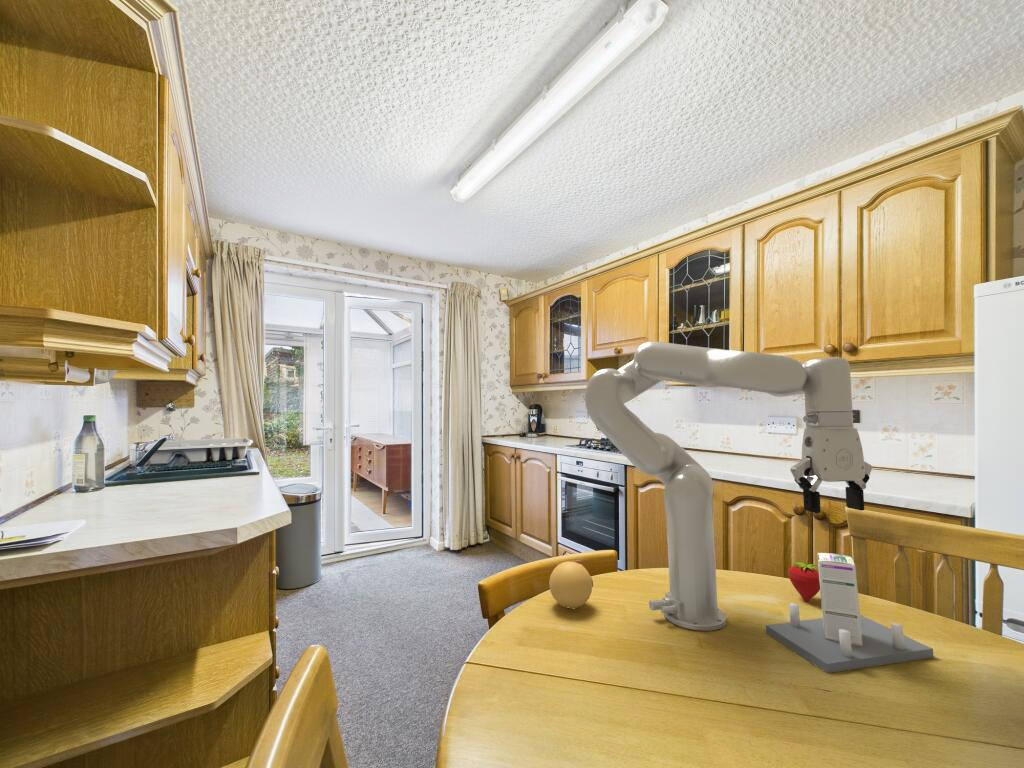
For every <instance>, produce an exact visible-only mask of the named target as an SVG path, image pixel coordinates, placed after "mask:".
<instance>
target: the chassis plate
mask: <svg viewBox="0 0 1024 768" xmlns="http://www.w3.org/2000/svg"><path fill="white" fill-rule="evenodd" d="M789 619H790V621H788V622H780V623H772V624H771V623H770V624H765V633H766V634H767V635H769V637H772V638H773V639H775V640H776V641H778V642H779V643H781V644H782V645H784V646H785V647H787V648H789V649H790V650H792V651H793V652H795V653H796V654H798V655H799V656H801V657H802V658H804V659H805V660H807V661H808V662H810V663H811V664H813V665H814V666H816V667H817V668H819V669H820V670H822V671H824V672H825V673H827V674H830V673H835V672H837V673H838V672H842V671H849V670H856V669H857V670H858V669H864V668H871V667H876V666H883V665H891V664H898V663H905V662H911V661H912V662H913V661H918V660H926V659H932V658H934V648H932V647H930V646H928V645H926V644H925V643H922V642H919V641H918V640H916V639H913V638H910V637H908V636H907V635H905V634H904V627H903V625H902V624H901V623H898V622H891V623H890V628H889V627H888V626H885V625H883V624H881V623H879V622H877V621H875V620H872V619H870V618H868V617H866V616H864V615H862V614H860V619H861V631H862V646H859V645H853V644H851V635H850V632H849V631H847V630H844V629H840V630H839V638H840V642H838V641H834V640H830V639H826V638H825V633H824V627H823V617H820V618H815V619H813V618H812V619H806V620H805V619H804V620H801V615H800V606H799V604H797V603H794V602H791V603H789Z"/></svg>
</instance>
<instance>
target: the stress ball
mask: <svg viewBox="0 0 1024 768" xmlns="http://www.w3.org/2000/svg"><path fill="white" fill-rule="evenodd" d="M548 582H549V584H548V585H549V591H550V594H551V596H552V597H553V599H554V601H555V602H556V603H558V604H559V605H560V606H562V607H563V608H566V607H569V608H576V607H577V608H580V607H581V606H583V605H584V604H586V603H587V602H588V601H589V599H590V597H591V595H592V591H593V587H594V579H593V576H591V575H590V573H589V571H588V570H587V568H586V567H585V566H584V565H583V564H581V563H578V562H576V561H573V560H566V561H564V562H561V563H558V565H557V566H556V567H554V569H553V571H552V572H551V574H550V576H549V581H548ZM577 608H576V609H577Z"/></svg>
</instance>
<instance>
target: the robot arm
mask: <svg viewBox="0 0 1024 768" xmlns="http://www.w3.org/2000/svg"><path fill="white" fill-rule="evenodd" d="M850 365H851V364H850V362H849V361H848V360H847V359H846V358H843V357H837V356H836V357H831V356H830V357H817V358H812V359H809V360H806V361H798V360H797V359H796V358H794V357H793V358H792V357H789V356H785V355H778V354H772V353H770V354H769V353H761V352H753V351H744V350H743V351H742V350H741V351H740V350H733V349H732V350H730V349H723V348H715V347H714V348H712V347H704V346H697V345H695V346H694V345H687V344H678V343H674V342H673V343H672V342H662V341H653V340H651V341H646V342H644V343H642V344H640V345H639V346H638V347H637V348H636V350H635V352H634V354H633V360H631V361H629V362H628V363H626V364H625V365H623V366H621V367H620V368H618V369H615V368H610V367H609V368H602V369H599V370H597V371H596V372H595V373H593V374H592V375H591V377H590V378H589V380H588V382H587V385H586V388H585V393H584V402H585V407H586V411H587V413H588V415H589V417H590V419H591V421H592V422H593V424H594V425H595V426H596V428H597V429H598V430H599V431H600V432H601V433H602V434H603V435H604V436H605V437H606V438H607V439H608V440H609V441H610V442H611V443H612V444H613V445H614V447H615V448H617V449H618V451H620V453H622V455H624V457H626V459H627V460H628V461H629V462H630V463H631V465H632V466H634V467H635V468H636V469H637V471H639V472H640V473H642V474H643V475H646V476H649V477H656V478H657V479H658V480H659V481H660V482H661V483H662V484H663V485H664V490H663V504H664V512H665V519H666V521H665V523H666V539H667V540H666V541H667V557H668V558H667V559H668V577H669V578H668V579H669V582H668V583H669V592H665V595H664V596H665V597H662V599H653V600H652V599H651V600H649V602H648V607H649V609H650V610H651V611H660V612H661V613H662V614H663V616H664V617H665V619H666V618H667V619H666V620H667V621H669V622H670V623H671V624H673V625H676V626H679V627H681V628H684V629H687V630H693V631H703V632H707V631H710V632H711V631H716V630H720V629H723V628H724V627H725V626H726V624H727V615H726V613H725V612H724V611H723V610H722V609H720V608H719V607H718V590H717V589H718V587H717V571H716V569H717V568H716V567H717V566H716V548H715V547H716V546H715V534H714V531H715V530H714V518H713V494H714V481H713V479H712V477H711V474H709V472H708V471H707V470H706V469H705V468H704V467H703V466H702V465H701V464H700V463H698V461H696V460H695V459H694V457H692V456H691V455H690V454H689V453H688V452H687V451H686V450H685V449H683V448H682V447H681V446H680V444H678V443H677V442H676V441H675V440H673V439H672V438H671V437H670V436H668V435H667V434H664V433H660V432H654V430H652V429H651V428H650V427H648V426H647V425H646V424H645V423H644V422H643V421H642V420H641V419H640V418H639V417H638V416H637V415H636V414H635V413H634V412H632V411H631V410H630V409H629V408H628V407H627V405H625V403H628V402H630V401H632V400H634V399H635V398H636V397H638V396H640V395H642V394H643V393H645V392H646V391H648V390H650V389H651V388H653V387H654V386H656V385H658V384H660V383H661V382H662V381H669V382H675V383H681V384H687V385H692V386H699V387H707V388H718V387H719V388H721V387H723V388H730V389H731V388H733V389H739V390H741V389H742V390H745V391H746V390H747V391H753V392H760V393H766V394H768V395H771V396H773V397H778V398H779V397H780V398H782V397H789V396H796V395H804V409H805V410H804V411H805V412H804V413H805V415H804V416H802V417H803V418H802V419H803V423H805V426H806V428H804V429H803V437H802V444H801V460H800V461H798V462H797V463H795V464H794V465H793V466H791V467H790V469H789V470H790V472H791V475H792V476H793V478H794V481H795V483H796V484H797V485H798V487H799V489H800V490H802V495H803V496H802V497H803V498H802V499H803V509H804V511H806V512H810V513H814V514H820V513H821V511H822V509H821V493H820V491H817V490H818V488H819V487H820V485H821V484H822V483H823V482H826V483H837V482H845V483H846V485H847V486H845V505H846V507H847V508H848V509H853V510H857V511H865V499H864V496H865V495H864V490H865V489H866V488H867V485H866V484H867V483H868V482H869V480H870V475H871V472H872V469H873V465H872V464H870V463H868V462H867V461H865V457H864V451H863V445H862V442H861V438H860V434H859V432H858V428H856V427H854V412H853V397H852V395H853V393H852V381H851V380H852V379H851V366H850Z"/></svg>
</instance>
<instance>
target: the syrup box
mask: <svg viewBox="0 0 1024 768" xmlns="http://www.w3.org/2000/svg"><path fill="white" fill-rule="evenodd" d="M817 565H818V566H817V569H819V570H818V572H819V581H820V591H819V593H820V602H821V615H822V617H821V618H823V627H824V633H825V638H826V639H830V640H834V641H838V642H840V638H839V630H840V629H844V630H847V631H849V632H850V635H851V644H853V645H859V646H862V631H861V619H860V615H861V610H860V599H859V591H858V580H857V569H856V565H855V562H854V560H853V557H852V556H850V555H847V554H841V553H840V554H838V553H831V552H830V553H829V552H828V553H827V552H817Z"/></svg>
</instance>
